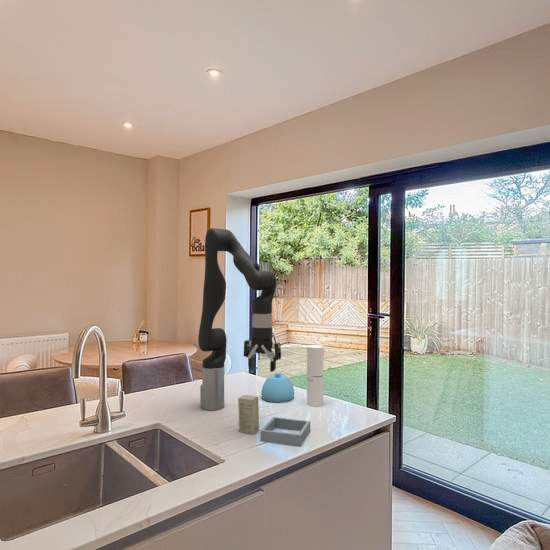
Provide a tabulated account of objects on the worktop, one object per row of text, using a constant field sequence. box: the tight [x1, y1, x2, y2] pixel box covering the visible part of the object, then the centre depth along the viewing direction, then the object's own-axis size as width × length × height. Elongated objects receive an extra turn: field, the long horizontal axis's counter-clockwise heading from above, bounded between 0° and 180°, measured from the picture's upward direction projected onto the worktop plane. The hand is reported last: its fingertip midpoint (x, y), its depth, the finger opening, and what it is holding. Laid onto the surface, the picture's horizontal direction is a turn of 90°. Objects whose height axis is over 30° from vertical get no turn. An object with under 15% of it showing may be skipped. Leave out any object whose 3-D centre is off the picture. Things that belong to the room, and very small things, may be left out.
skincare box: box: [237, 394, 260, 435], centre depth 148 cm, size 6×4×12 cm
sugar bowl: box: [260, 371, 295, 403], centre depth 187 cm, size 15×15×12 cm
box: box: [259, 416, 311, 447], centre depth 143 cm, size 14×14×4 cm
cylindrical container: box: [306, 344, 325, 407], centre depth 179 cm, size 7×7×25 cm
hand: (261, 369), depth 150 cm, fingers open, 8 cm apart
